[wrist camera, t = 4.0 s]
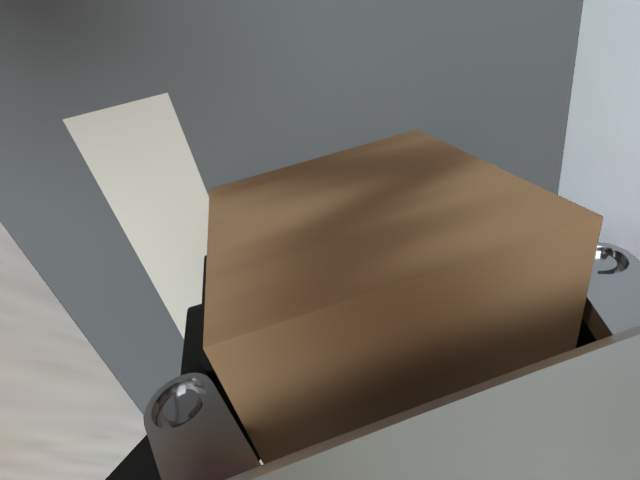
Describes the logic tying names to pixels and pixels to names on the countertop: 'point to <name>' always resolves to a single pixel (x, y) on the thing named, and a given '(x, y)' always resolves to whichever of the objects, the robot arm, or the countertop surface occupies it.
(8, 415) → the countertop surface
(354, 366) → the wooden block
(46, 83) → the letter board
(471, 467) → the robot arm
